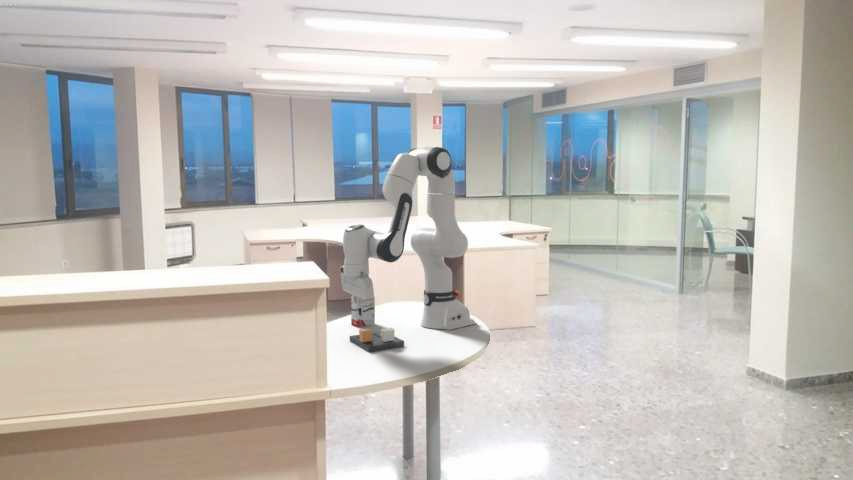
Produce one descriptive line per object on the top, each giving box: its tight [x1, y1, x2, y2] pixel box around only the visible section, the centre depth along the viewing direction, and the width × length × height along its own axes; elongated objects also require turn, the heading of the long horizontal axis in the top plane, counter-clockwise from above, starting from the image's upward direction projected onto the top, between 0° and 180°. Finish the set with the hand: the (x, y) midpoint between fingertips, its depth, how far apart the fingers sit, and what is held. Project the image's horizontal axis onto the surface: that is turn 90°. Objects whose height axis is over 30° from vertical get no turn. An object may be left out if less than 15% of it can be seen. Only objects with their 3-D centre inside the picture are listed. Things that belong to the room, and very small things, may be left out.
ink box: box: [350, 296, 376, 328], centre depth 262 cm, size 8×5×12 cm, turn 123°
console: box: [349, 331, 405, 353], centre depth 235 cm, size 14×16×2 cm
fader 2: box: [380, 327, 395, 342], centre depth 231 cm, size 4×2×4 cm, turn 121°
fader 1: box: [358, 327, 374, 342], centre depth 230 cm, size 4×2×4 cm, turn 121°
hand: (358, 307), depth 237 cm, fingers closed
